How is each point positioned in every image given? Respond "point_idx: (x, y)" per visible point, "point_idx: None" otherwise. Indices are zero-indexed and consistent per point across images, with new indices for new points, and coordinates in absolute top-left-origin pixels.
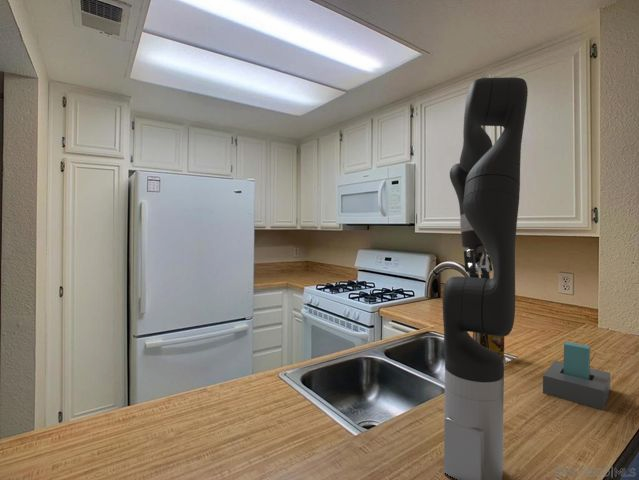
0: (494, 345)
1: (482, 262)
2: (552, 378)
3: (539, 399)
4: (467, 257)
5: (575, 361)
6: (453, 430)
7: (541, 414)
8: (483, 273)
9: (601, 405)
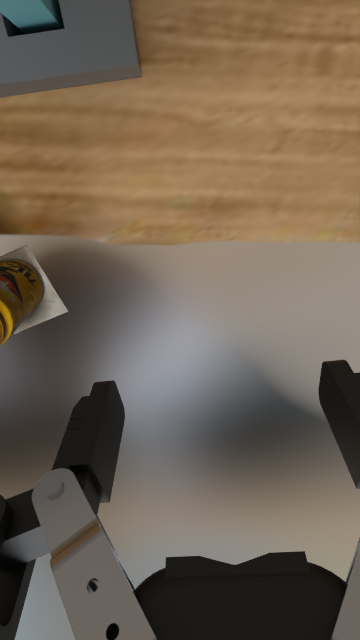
0: (21, 287)
1: (244, 596)
2: (133, 31)
3: (190, 67)
4: None
5: None
6: None
7: (277, 25)
8: (97, 495)
9: None
